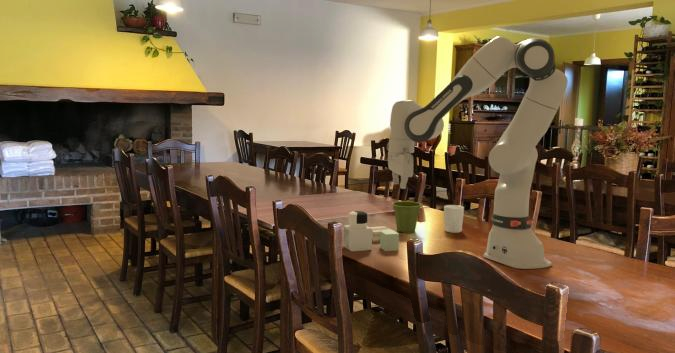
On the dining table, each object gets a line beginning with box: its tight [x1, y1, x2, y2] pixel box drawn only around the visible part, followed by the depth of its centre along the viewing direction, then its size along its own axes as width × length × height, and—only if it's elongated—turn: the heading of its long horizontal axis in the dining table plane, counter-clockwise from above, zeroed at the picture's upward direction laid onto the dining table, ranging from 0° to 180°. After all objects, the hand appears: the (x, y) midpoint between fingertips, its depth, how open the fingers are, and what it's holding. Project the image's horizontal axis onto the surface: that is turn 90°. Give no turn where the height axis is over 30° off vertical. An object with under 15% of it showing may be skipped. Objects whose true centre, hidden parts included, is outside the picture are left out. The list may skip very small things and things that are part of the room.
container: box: [343, 210, 373, 252], centre depth 187 cm, size 8×8×13 cm
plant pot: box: [391, 200, 422, 234], centre depth 214 cm, size 12×12×11 cm
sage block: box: [379, 229, 400, 252], centre depth 187 cm, size 5×5×6 cm
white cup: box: [443, 204, 465, 234], centre depth 216 cm, size 8×8×10 cm
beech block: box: [369, 225, 394, 243], centre depth 202 cm, size 8×8×4 cm
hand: (399, 186), depth 188 cm, fingers open, 8 cm apart
